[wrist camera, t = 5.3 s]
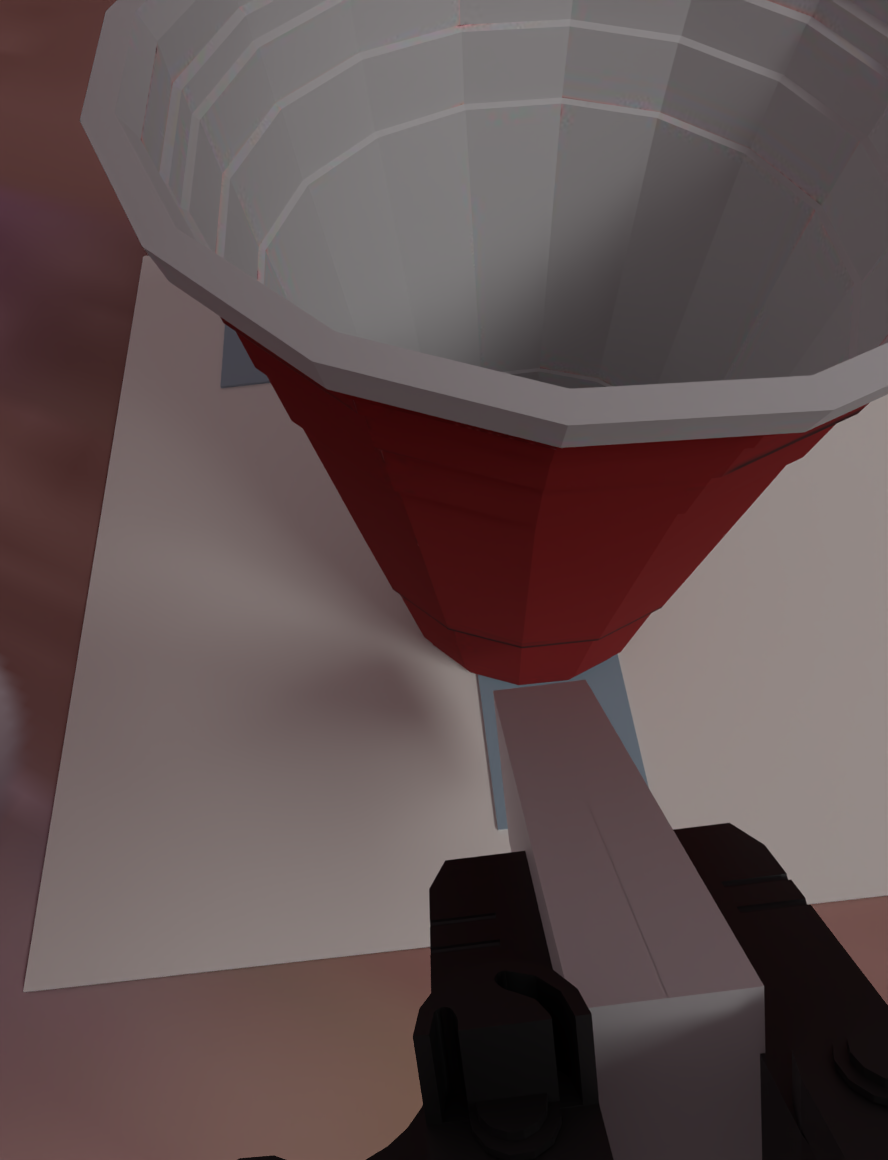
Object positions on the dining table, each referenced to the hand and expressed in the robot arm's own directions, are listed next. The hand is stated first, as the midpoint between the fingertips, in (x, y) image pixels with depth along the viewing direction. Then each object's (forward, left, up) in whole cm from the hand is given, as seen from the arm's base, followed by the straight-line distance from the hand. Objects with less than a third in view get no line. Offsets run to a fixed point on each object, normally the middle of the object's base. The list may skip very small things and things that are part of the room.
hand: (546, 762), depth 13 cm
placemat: (-1, -9, -4) cm, 10 cm away
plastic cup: (-1, -5, -4) cm, 7 cm away
